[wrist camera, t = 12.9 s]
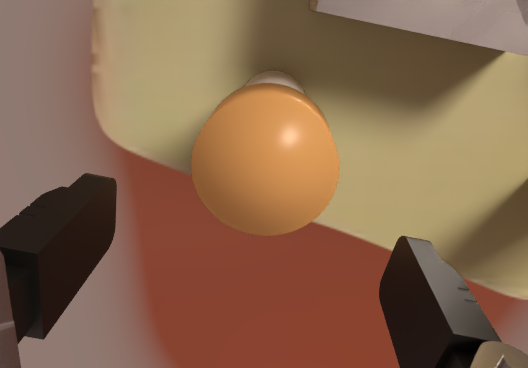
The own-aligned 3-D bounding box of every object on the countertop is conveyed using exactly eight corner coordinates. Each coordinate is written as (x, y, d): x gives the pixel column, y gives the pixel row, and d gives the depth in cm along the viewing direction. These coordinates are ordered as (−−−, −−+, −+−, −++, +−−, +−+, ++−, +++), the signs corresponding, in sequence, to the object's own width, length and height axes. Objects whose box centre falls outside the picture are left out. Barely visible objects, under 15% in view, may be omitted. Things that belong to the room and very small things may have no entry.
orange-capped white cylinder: (235, 50, 24) (200, 83, 14) (328, 69, 24) (358, 115, 14) (222, 139, 26) (183, 221, 16) (306, 155, 27) (318, 246, 17)
